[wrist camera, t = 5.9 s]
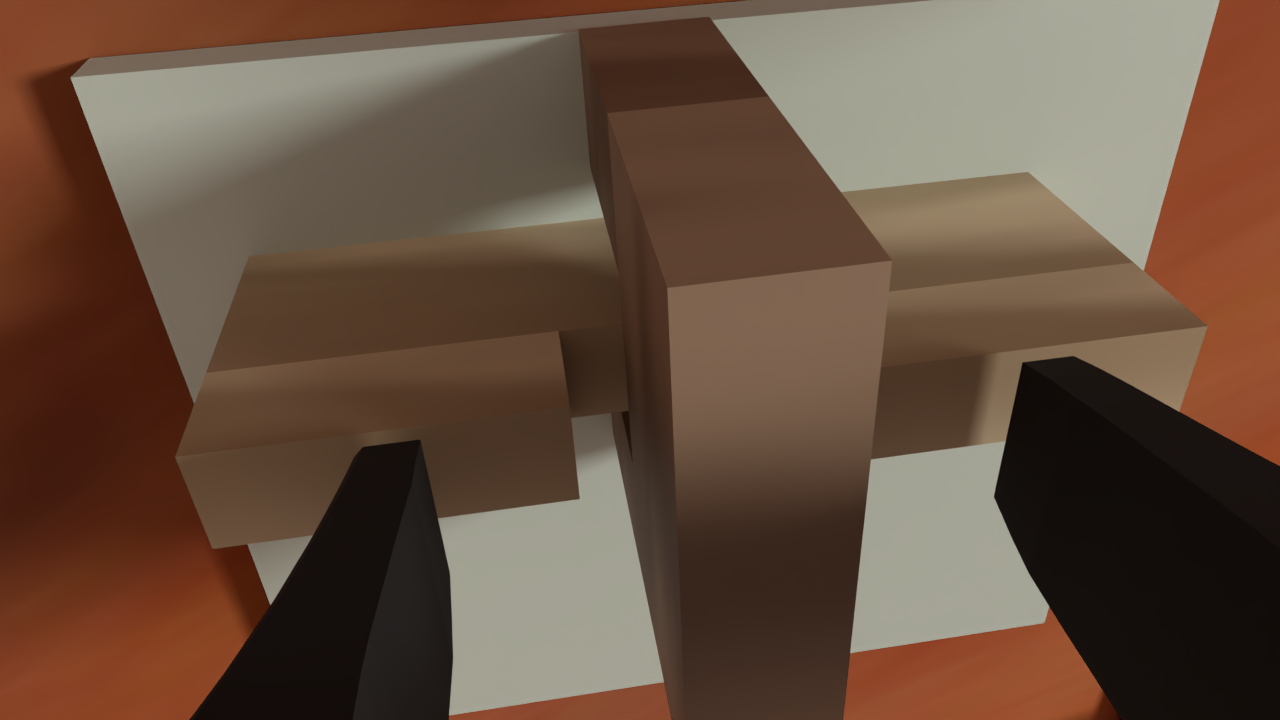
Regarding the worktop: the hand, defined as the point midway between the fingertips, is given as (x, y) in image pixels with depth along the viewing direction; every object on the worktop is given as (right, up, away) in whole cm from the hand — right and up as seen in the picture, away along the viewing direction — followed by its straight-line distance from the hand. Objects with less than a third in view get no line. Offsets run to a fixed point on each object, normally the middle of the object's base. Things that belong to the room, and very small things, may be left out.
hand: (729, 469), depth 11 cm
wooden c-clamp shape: (-1, +3, +4) cm, 5 cm away
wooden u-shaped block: (-1, +3, +4) cm, 5 cm away
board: (0, +1, +7) cm, 7 cm away
